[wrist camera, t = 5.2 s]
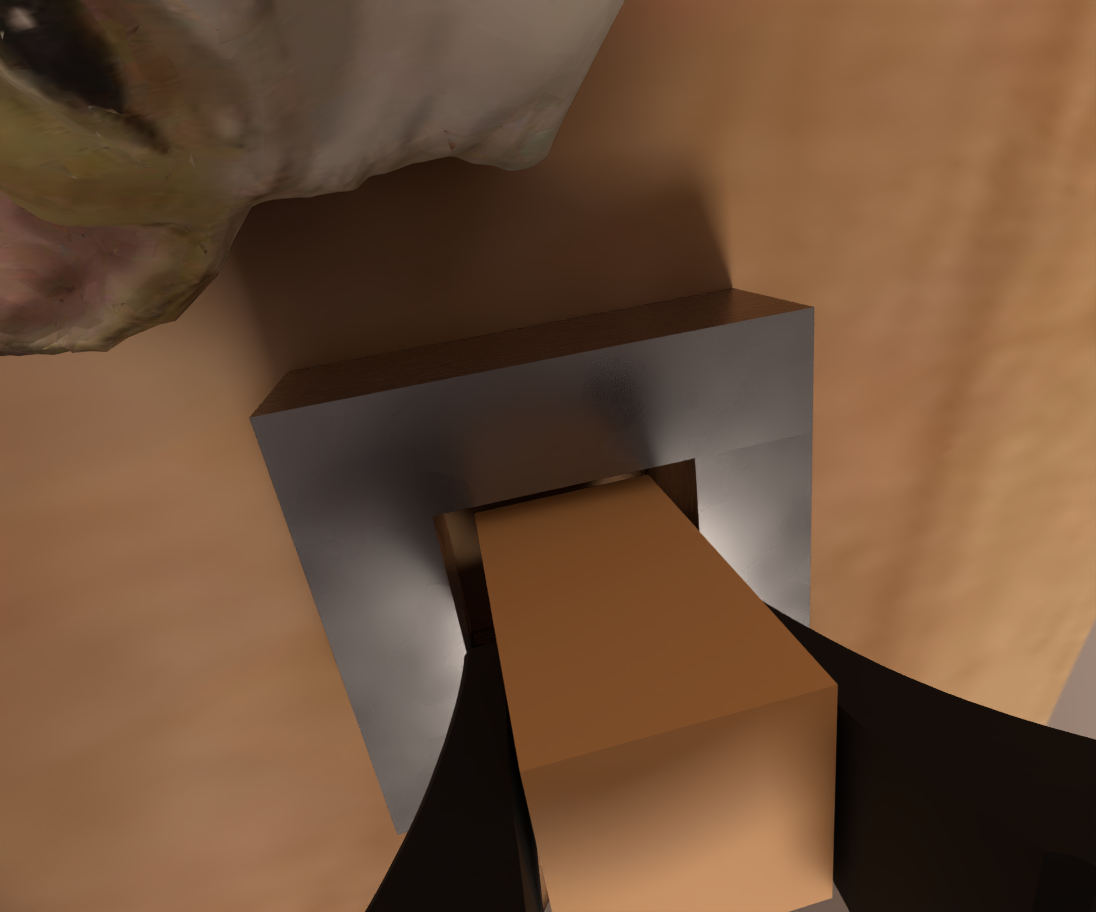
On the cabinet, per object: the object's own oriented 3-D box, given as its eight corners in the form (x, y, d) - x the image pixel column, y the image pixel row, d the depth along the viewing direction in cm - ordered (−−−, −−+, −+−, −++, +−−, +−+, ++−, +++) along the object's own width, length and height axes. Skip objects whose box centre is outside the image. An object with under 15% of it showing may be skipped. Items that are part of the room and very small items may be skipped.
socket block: (401, 728, 19) (397, 834, 15) (287, 372, 14) (249, 417, 11) (745, 638, 20) (808, 719, 17) (733, 288, 16) (814, 307, 12)
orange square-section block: (506, 658, 15) (568, 981, 9) (473, 513, 14) (519, 771, 7) (663, 619, 16) (832, 897, 9) (648, 474, 14) (838, 685, 8)
